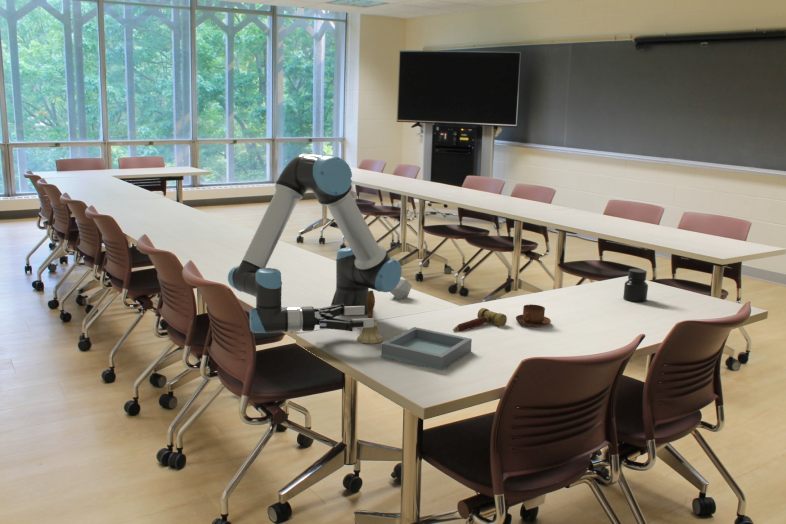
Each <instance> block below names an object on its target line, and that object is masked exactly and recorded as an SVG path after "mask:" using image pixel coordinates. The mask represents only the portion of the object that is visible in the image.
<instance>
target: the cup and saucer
mask: <svg viewBox="0 0 786 524" xmlns="http://www.w3.org/2000/svg"><path fill="white" fill-rule="evenodd" d="M522 307H523V309H522V310H523V311H522V314H519V315H516V316H515V321H516V322H518V323H519V324H521V325H523V326H525V327H526V326H527V327H532V328H542V327H546V326H548V325H550V324H551V322H552V320H551V319H550V318H549V317H548V316H545V311H546V307H545V306H542V305H540V304H539V305H538V304H525V305H523V306H522Z"/></svg>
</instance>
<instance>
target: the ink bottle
mask: <svg viewBox="0 0 786 524" xmlns="http://www.w3.org/2000/svg"><path fill="white" fill-rule="evenodd" d="M647 273H648V271H647V270H645V269H641V268H629V269H628V277H627V280H626V281H625V282H624V285H623V286H624V287H623V295H622V296H623V299H624V300H625V301H629V302H633V303H644V302H647V299H648V289H649V285H648V283H647V282H646V281H647Z"/></svg>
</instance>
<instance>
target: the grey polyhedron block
mask: <svg viewBox="0 0 786 524" xmlns="http://www.w3.org/2000/svg"><path fill="white" fill-rule="evenodd" d="M412 287H413V285H412V284H411V283H410V282H409V281H408V280H407V279H405V277H404V276H401V278H400V281H399V283H398V285H397V286H396V287H395V288H394V289H393V290H392V291H390V292H389V293H390V294H391V295H393V297H395V298H396V299H397V300H402V299H406V298H408V296H409V294H410V292H411V290H412Z"/></svg>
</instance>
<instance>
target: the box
mask: <svg viewBox="0 0 786 524" xmlns="http://www.w3.org/2000/svg"><path fill="white" fill-rule="evenodd" d="M380 347H381V348H380V349H381V350H380V352H381V353H380V356H381V357H382V358H385V359H386V358H387V359H390V358H391V360H395V361H399V362H402V363H408V364H412V365H416V366H419V367H425V368H428V369H433V370H436V371H437V370H438V371H440V372H441V371H443V370H445V369H446V368H448V367H449V366H450V365H452V364H455V362H457V361H459V360H460V359H462V358H463V357H465V356H466V355H468V354H469V353H471V352H472V338H470V337H464V336H460V335H454V334H452V333H451V334H450V333H445V332H440V331H435V330H431V329H426V328H421V327H416V326H414V327H411V328H410V329H407V330H406V331H404V332H401V333H400V334H398V335H395V336H393V337H391V338H389V339H387V340H385V341H384V342H381V345H380Z"/></svg>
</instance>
